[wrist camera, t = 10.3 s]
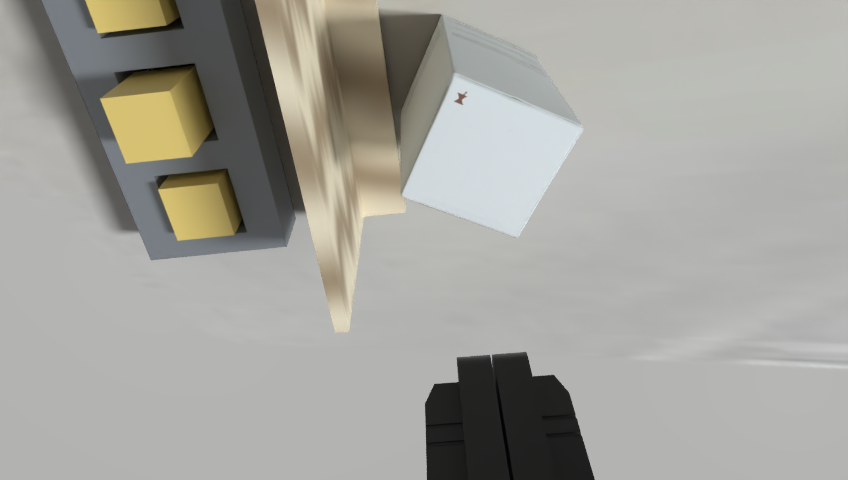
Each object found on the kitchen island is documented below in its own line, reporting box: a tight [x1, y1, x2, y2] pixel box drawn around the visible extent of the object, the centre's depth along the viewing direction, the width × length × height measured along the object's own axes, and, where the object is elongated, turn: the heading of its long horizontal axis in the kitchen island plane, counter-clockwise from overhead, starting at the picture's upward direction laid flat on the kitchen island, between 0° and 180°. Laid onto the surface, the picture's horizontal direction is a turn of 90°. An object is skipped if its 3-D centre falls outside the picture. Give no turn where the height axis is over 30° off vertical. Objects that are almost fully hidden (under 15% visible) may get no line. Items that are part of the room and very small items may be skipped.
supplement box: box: [400, 15, 584, 238], centre depth 36 cm, size 7×7×13 cm
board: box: [41, 0, 296, 260], centre depth 39 cm, size 22×10×4 cm, turn 6°
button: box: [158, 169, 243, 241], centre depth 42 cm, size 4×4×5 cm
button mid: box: [100, 65, 214, 164], centre depth 37 cm, size 4×4×5 cm
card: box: [255, 0, 406, 333], centre depth 35 cm, size 22×4×14 cm, turn 6°
